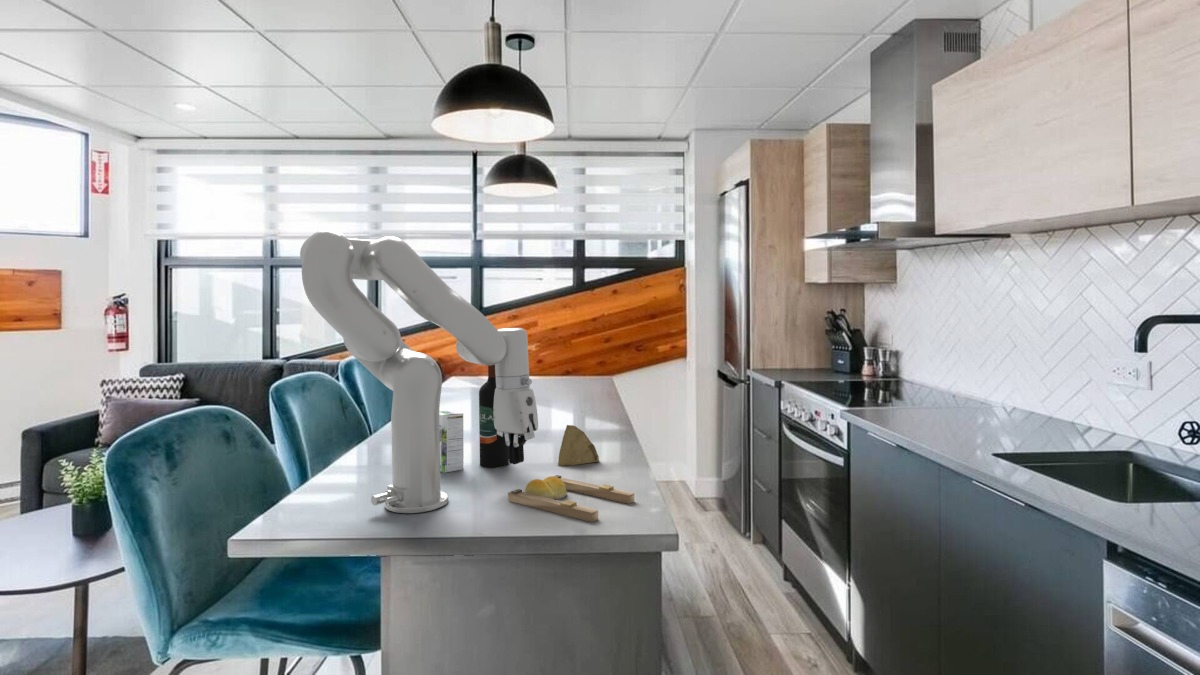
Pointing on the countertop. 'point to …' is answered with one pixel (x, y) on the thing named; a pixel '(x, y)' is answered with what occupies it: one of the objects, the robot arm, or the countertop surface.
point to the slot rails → (569, 506)
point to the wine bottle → (490, 427)
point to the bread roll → (547, 488)
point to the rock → (576, 448)
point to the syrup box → (451, 441)
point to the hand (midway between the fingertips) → (516, 462)
